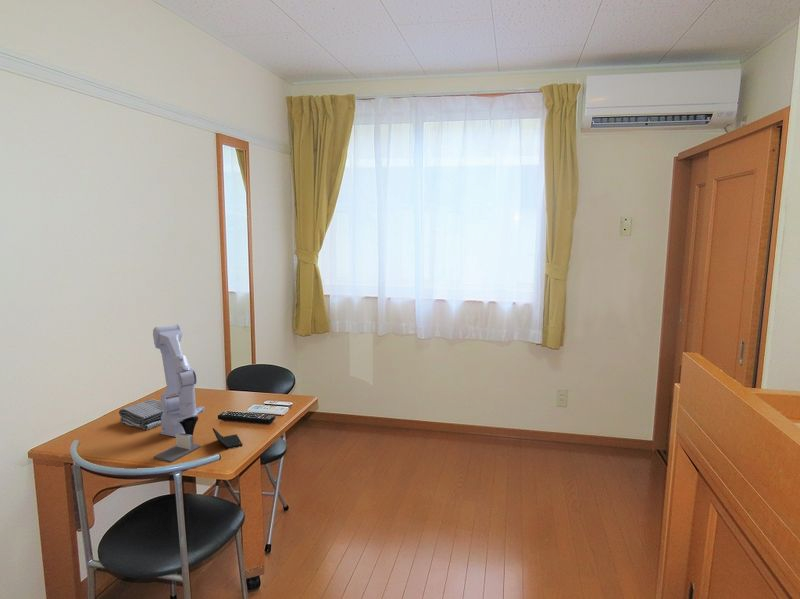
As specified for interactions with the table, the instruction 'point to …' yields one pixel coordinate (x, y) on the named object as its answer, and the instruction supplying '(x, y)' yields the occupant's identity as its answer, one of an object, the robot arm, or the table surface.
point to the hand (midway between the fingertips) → (189, 435)
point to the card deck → (184, 441)
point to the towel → (142, 414)
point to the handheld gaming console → (228, 440)
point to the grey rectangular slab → (175, 453)
